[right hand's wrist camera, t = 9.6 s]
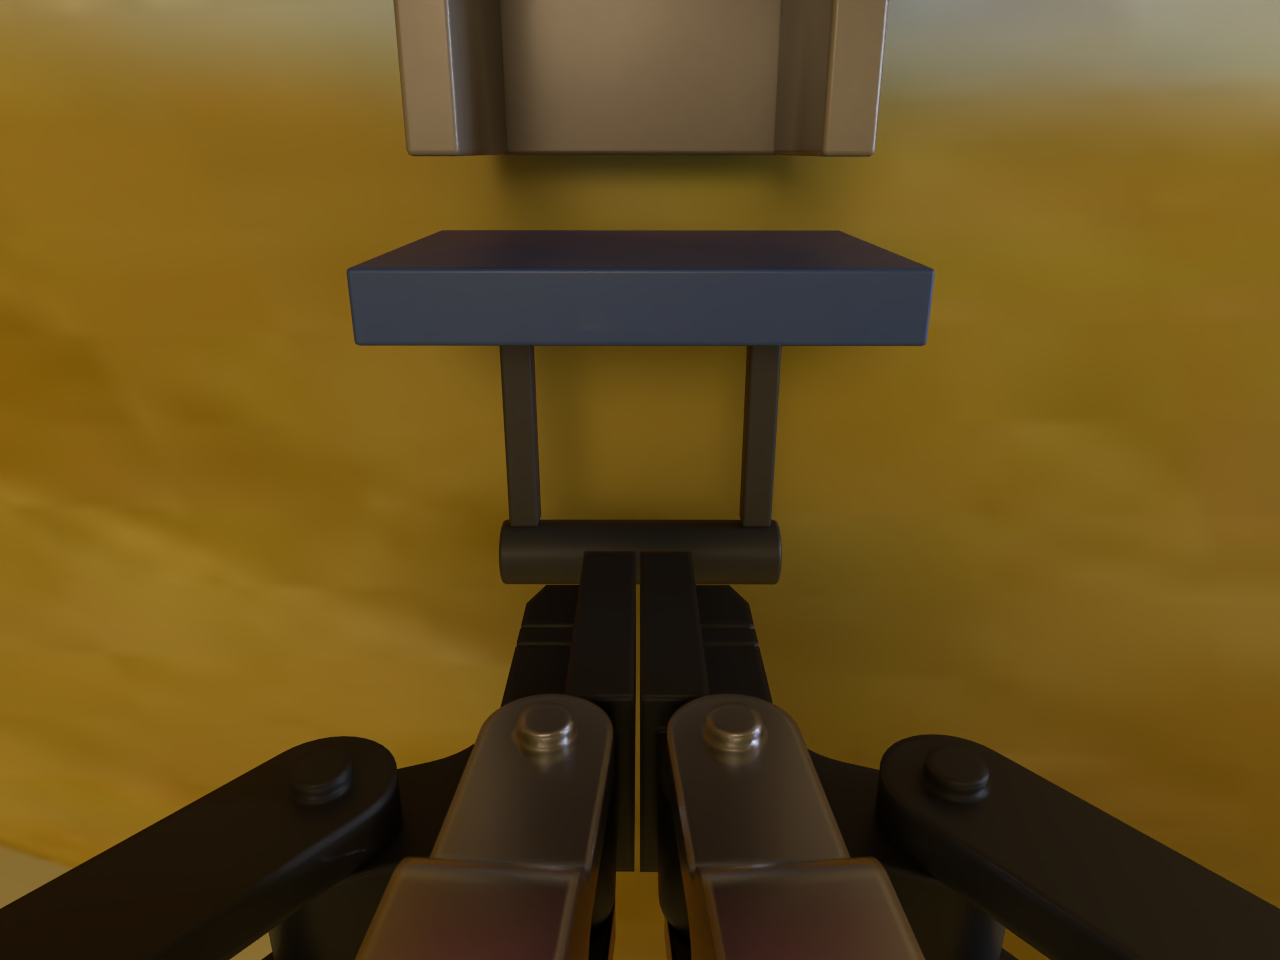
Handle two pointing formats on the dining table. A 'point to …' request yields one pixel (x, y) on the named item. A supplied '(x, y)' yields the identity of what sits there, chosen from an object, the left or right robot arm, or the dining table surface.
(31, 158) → the dining table surface
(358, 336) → the drawer
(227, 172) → the dining table surface
